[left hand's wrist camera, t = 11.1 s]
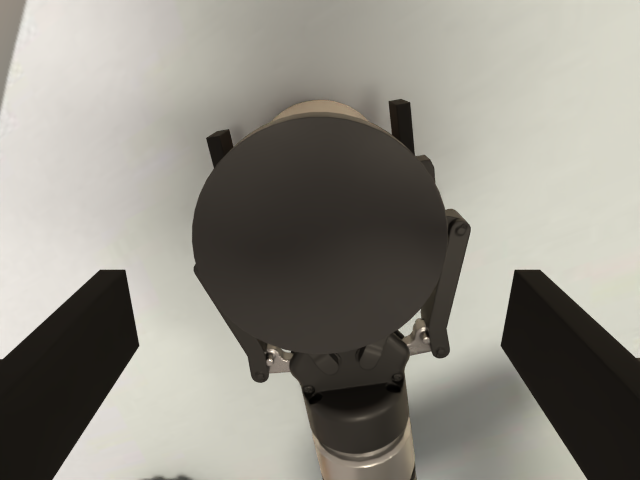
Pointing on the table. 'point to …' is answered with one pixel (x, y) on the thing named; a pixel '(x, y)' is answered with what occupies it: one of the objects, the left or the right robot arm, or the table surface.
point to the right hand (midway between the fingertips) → (307, 117)
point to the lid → (320, 233)
